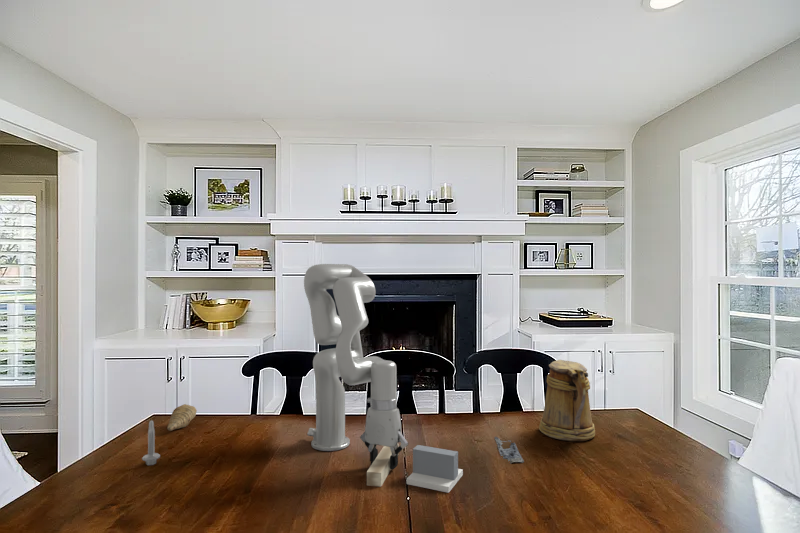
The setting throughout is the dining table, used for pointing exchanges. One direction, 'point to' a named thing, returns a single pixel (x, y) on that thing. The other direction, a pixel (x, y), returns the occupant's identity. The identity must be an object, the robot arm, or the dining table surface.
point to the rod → (379, 468)
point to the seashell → (181, 417)
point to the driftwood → (509, 451)
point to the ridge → (435, 468)
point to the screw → (151, 447)
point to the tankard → (567, 403)
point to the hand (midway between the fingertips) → (383, 465)
